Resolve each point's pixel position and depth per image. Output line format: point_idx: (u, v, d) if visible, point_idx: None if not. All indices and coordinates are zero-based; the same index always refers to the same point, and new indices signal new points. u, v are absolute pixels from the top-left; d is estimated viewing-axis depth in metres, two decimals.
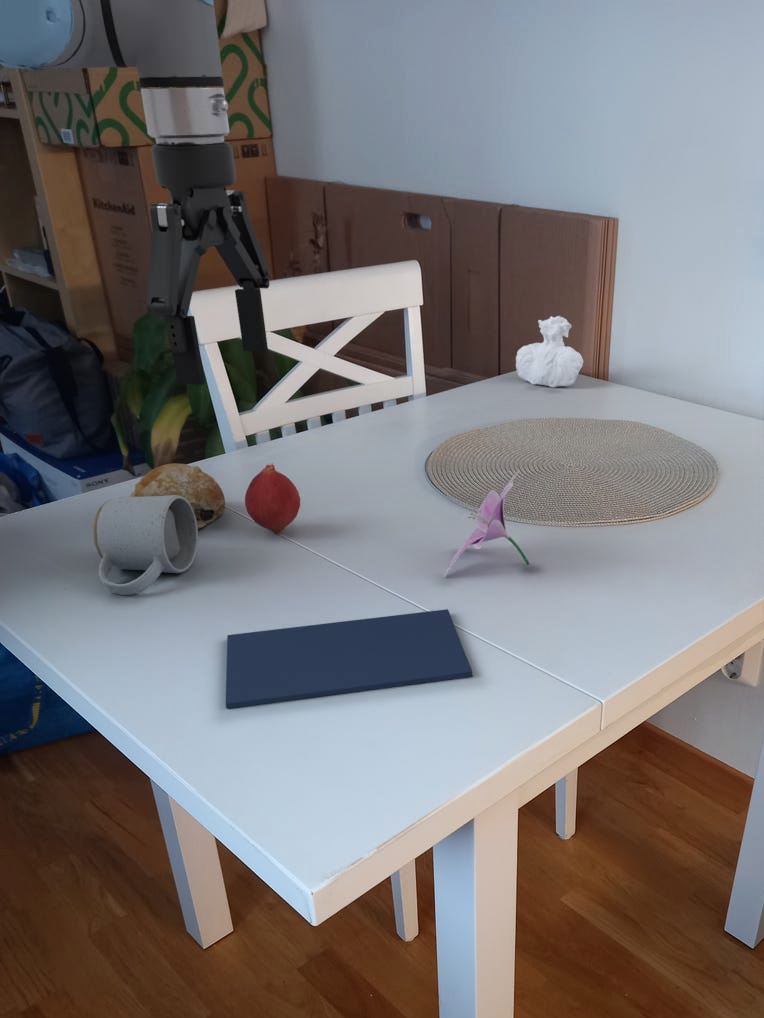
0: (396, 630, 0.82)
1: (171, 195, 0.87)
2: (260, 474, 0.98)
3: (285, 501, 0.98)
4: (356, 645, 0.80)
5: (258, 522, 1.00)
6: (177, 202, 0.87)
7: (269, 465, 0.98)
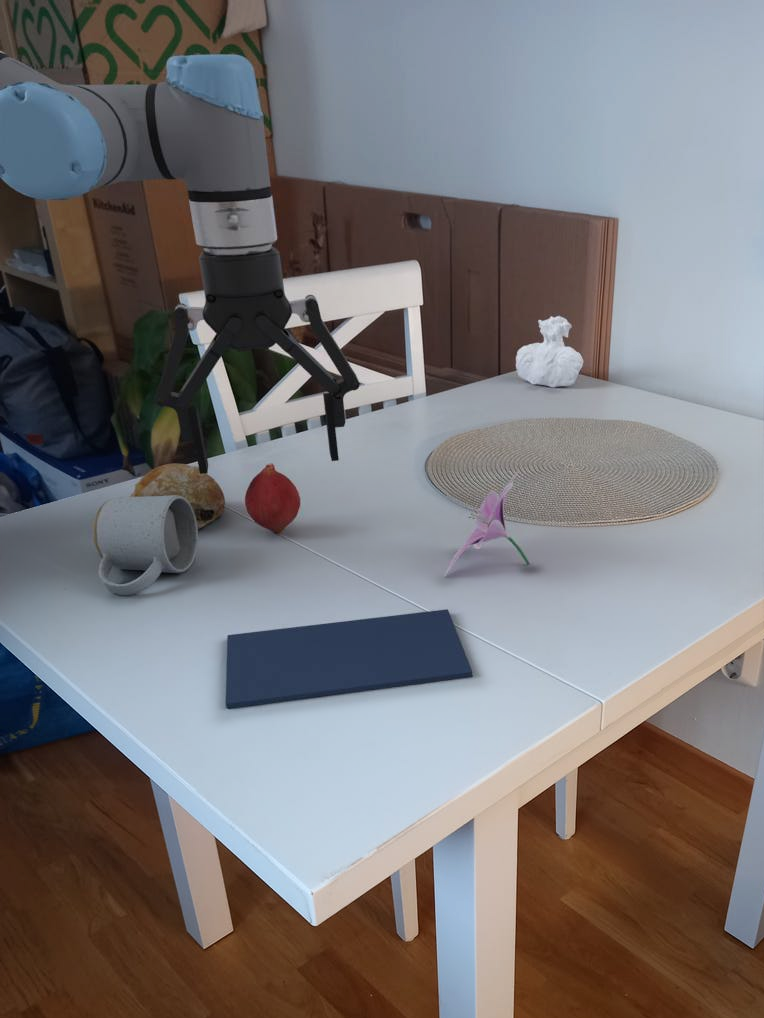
0: (396, 630, 0.82)
1: None
2: (260, 474, 0.98)
3: (285, 501, 0.98)
4: (356, 645, 0.80)
5: (258, 522, 1.00)
6: None
7: (269, 465, 0.98)
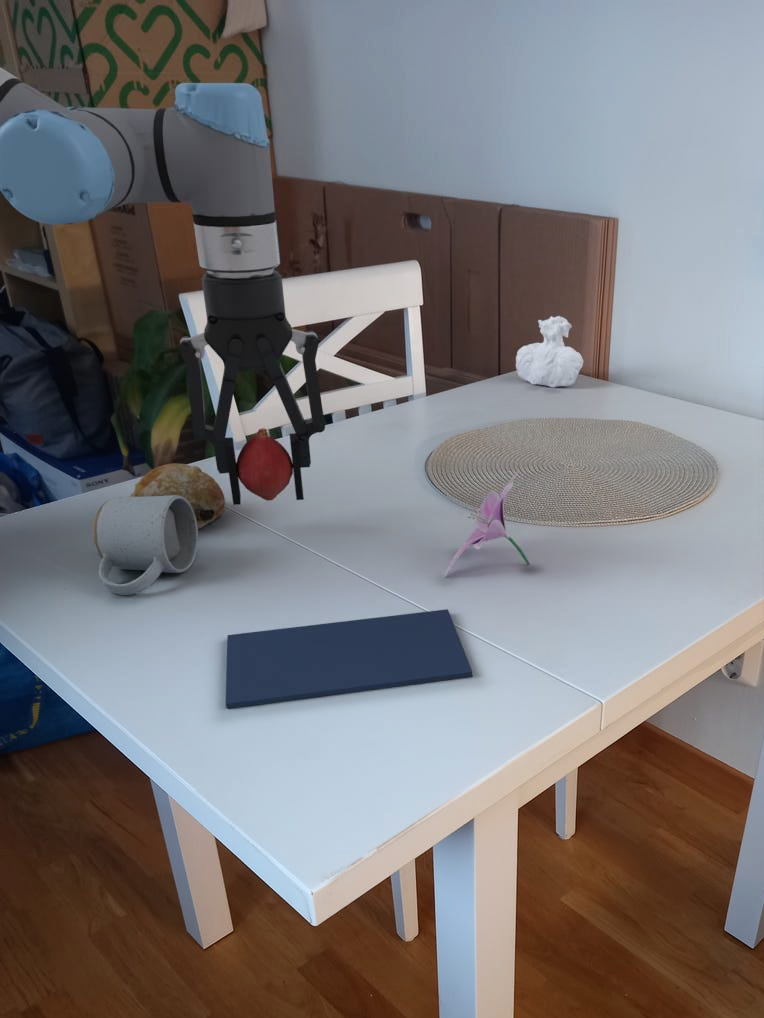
0: (396, 630, 0.82)
1: None
2: (252, 439, 0.96)
3: (277, 467, 0.96)
4: (356, 645, 0.80)
5: (249, 488, 0.98)
6: None
7: (261, 430, 0.96)
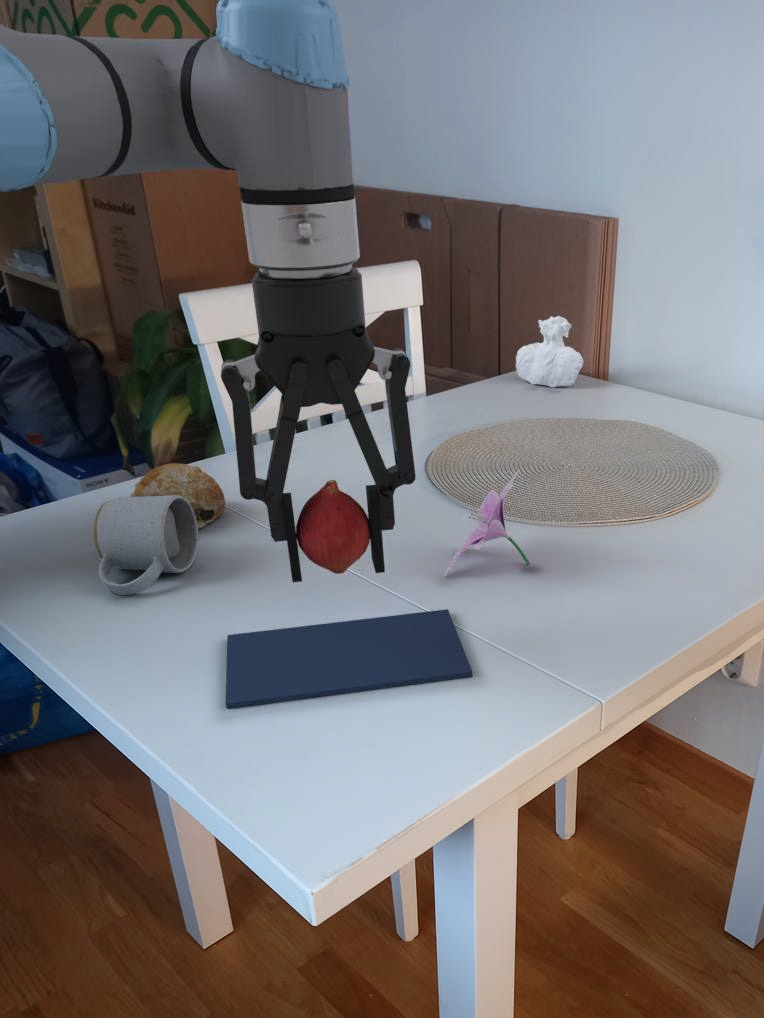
0: (396, 630, 0.82)
1: None
2: (318, 495, 0.71)
3: (352, 532, 0.71)
4: (356, 645, 0.80)
5: (314, 560, 0.73)
6: None
7: (330, 482, 0.71)
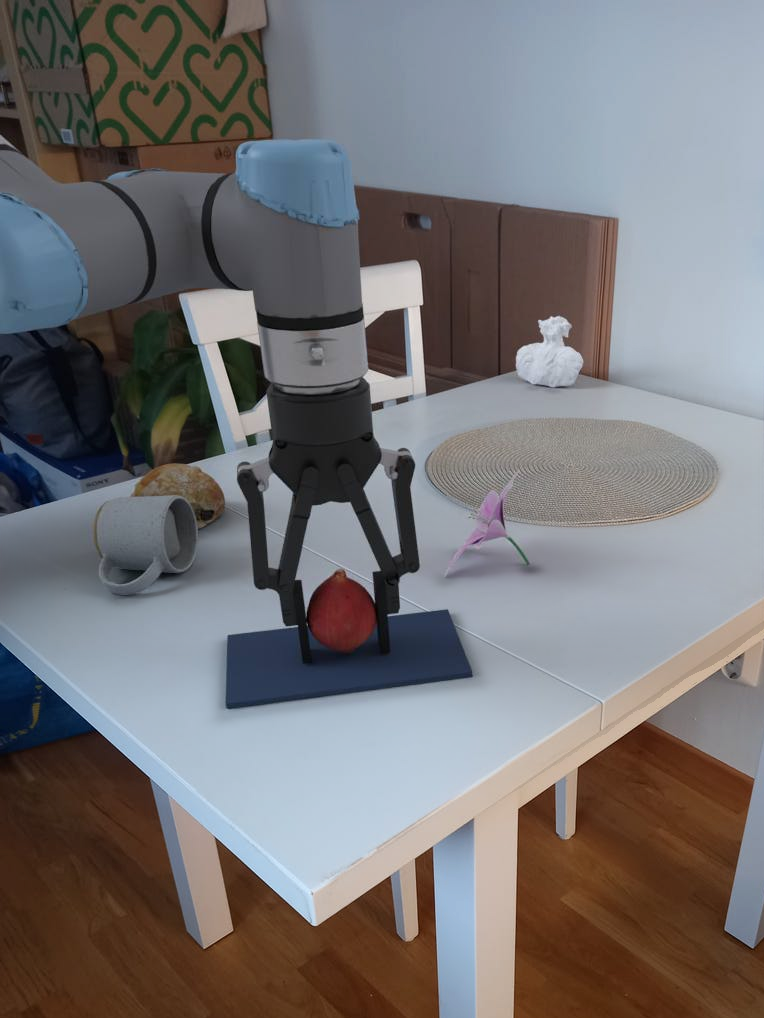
0: (396, 630, 0.82)
1: None
2: (327, 583, 0.75)
3: (360, 618, 0.75)
4: None
5: (323, 643, 0.77)
6: None
7: (339, 572, 0.75)
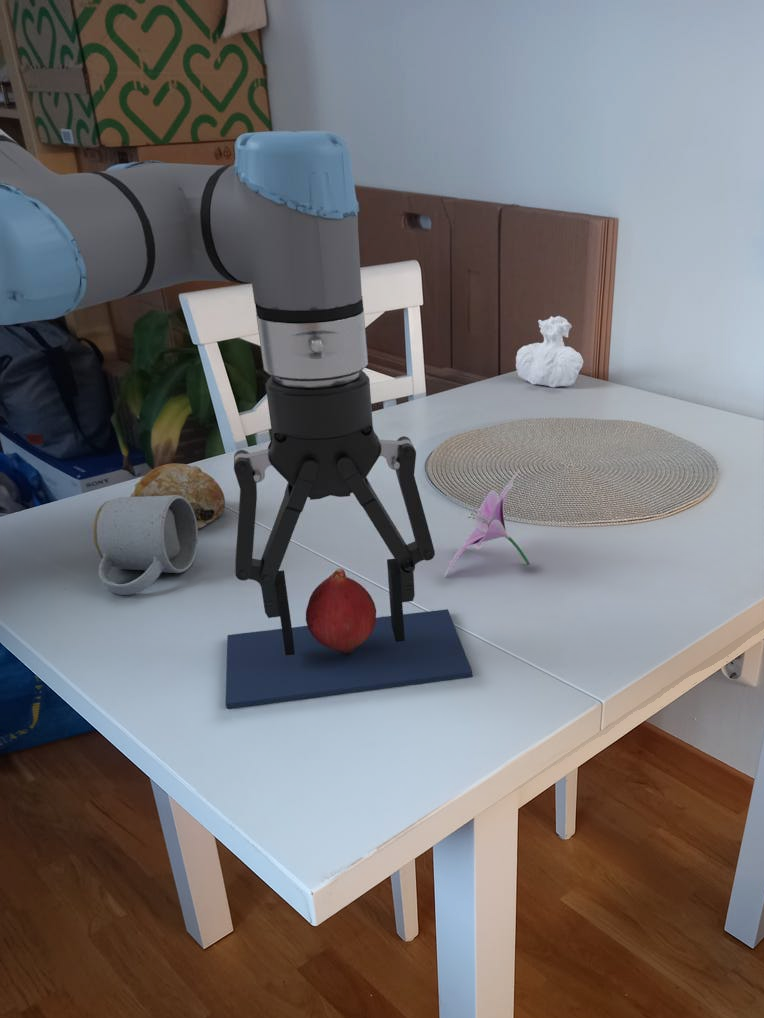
0: None
1: None
2: (327, 583, 0.75)
3: (359, 618, 0.75)
4: None
5: (323, 643, 0.77)
6: None
7: (338, 571, 0.75)
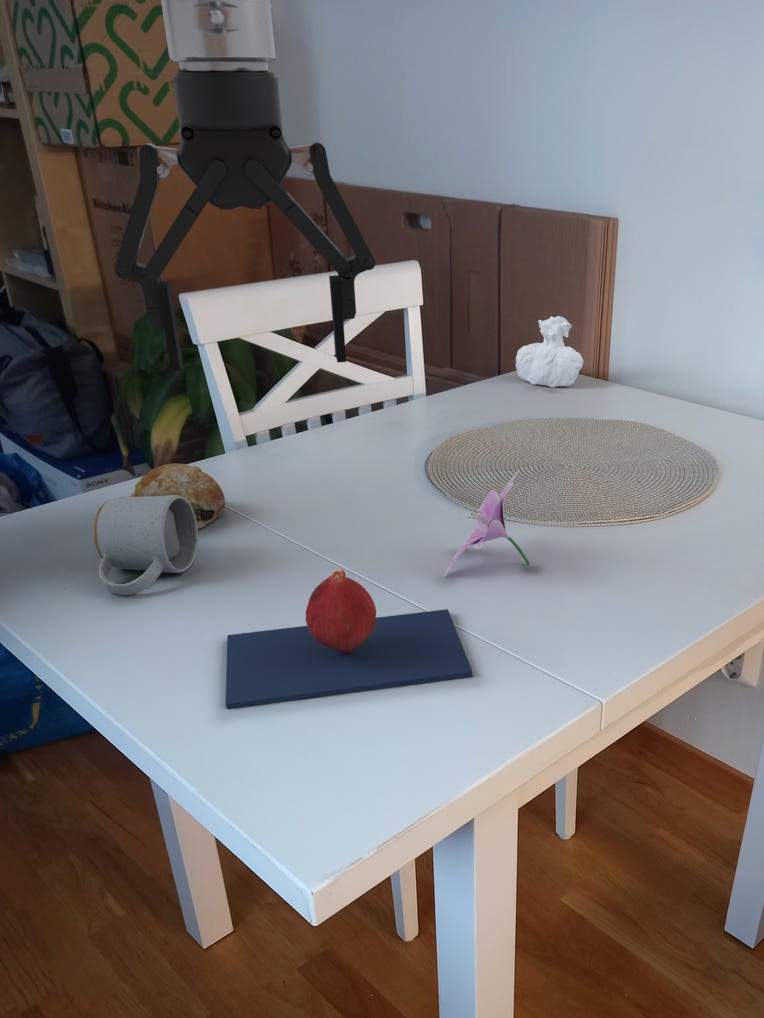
0: (396, 630, 0.82)
1: None
2: (326, 583, 0.75)
3: (359, 618, 0.75)
4: None
5: (323, 643, 0.77)
6: None
7: (338, 571, 0.75)
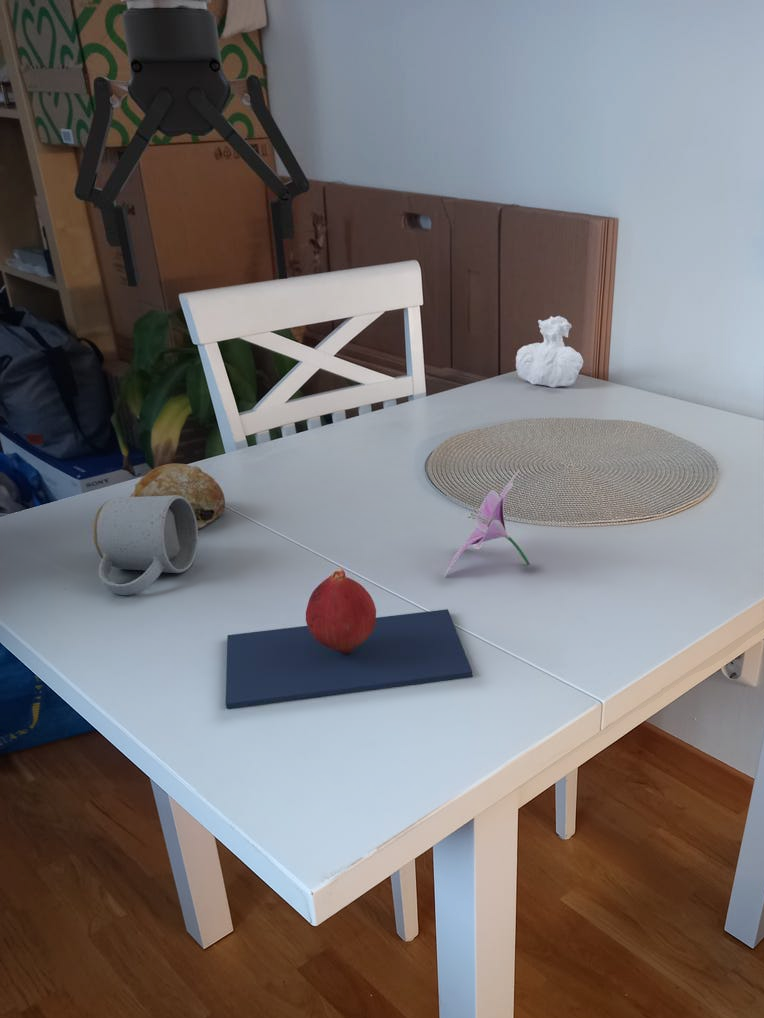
0: (396, 630, 0.82)
1: None
2: (326, 583, 0.75)
3: (359, 618, 0.75)
4: None
5: (323, 643, 0.77)
6: None
7: (338, 571, 0.75)
